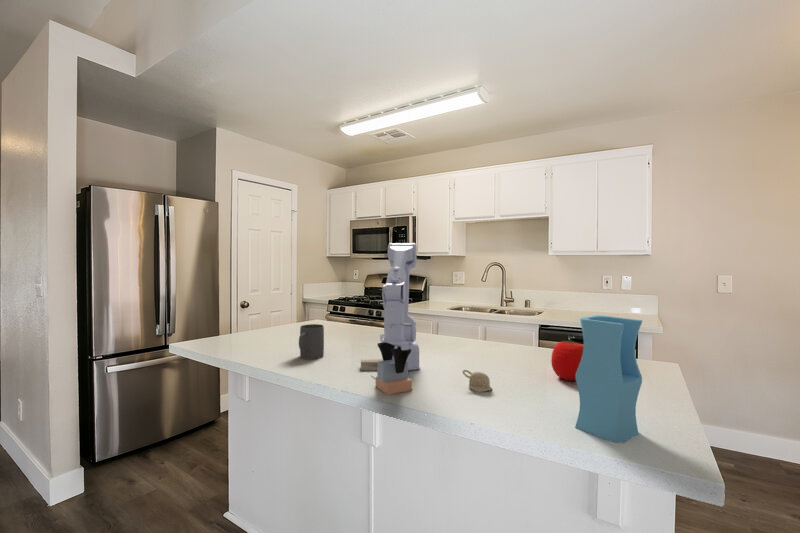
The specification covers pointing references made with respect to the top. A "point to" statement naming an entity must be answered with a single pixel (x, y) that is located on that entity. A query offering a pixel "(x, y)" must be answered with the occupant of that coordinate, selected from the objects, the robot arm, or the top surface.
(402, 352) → the robot arm
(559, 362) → the tomato
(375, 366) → the brick
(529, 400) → the top surface
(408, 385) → the base brick
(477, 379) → the decorative ornament
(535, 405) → the top surface
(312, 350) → the mug
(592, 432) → the vase
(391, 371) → the top brick
